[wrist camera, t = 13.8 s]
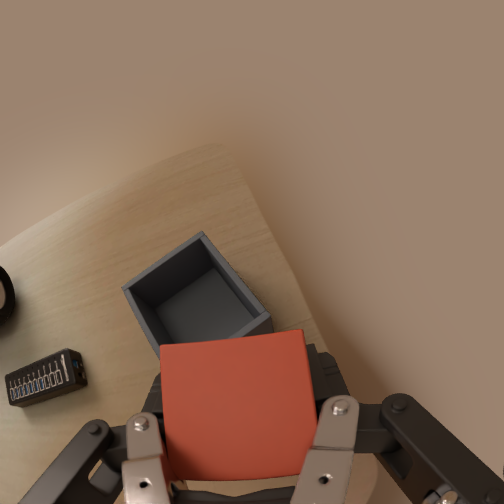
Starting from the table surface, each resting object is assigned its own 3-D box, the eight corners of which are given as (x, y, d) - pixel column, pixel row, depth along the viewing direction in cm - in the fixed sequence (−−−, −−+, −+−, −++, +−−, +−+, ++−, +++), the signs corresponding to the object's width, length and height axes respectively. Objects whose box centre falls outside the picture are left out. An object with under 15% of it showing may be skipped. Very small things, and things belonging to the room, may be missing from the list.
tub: (274, 334, 27) (271, 315, 21) (198, 388, 25) (174, 384, 19) (216, 262, 31) (201, 230, 26) (149, 309, 29) (120, 286, 24)
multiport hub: (15, 378, 26) (4, 375, 24) (79, 351, 27) (67, 346, 25) (20, 407, 23) (9, 405, 21) (88, 385, 25) (76, 383, 23)
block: (303, 436, 14) (324, 470, 7) (223, 444, 14) (170, 479, 7) (293, 361, 17) (303, 327, 9) (215, 371, 17) (158, 344, 9)
